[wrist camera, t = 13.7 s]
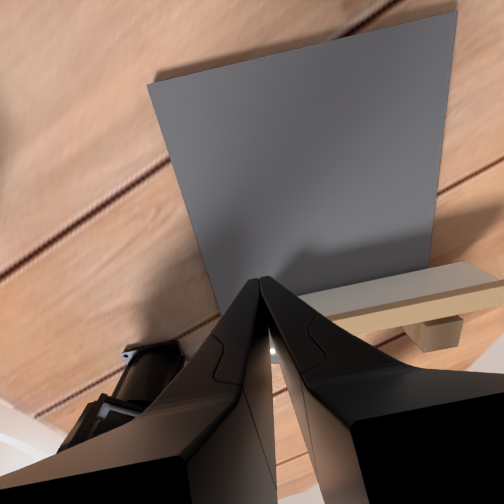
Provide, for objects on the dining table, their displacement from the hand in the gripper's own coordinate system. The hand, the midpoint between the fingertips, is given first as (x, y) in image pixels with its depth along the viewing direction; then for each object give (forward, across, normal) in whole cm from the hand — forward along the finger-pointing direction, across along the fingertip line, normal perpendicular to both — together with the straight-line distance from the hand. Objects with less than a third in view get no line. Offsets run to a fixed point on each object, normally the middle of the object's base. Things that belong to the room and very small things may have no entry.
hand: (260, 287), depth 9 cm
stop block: (+13, -14, +13) cm, 23 cm away
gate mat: (+13, -6, +2) cm, 14 cm away
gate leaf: (+12, -10, +10) cm, 18 cm away
